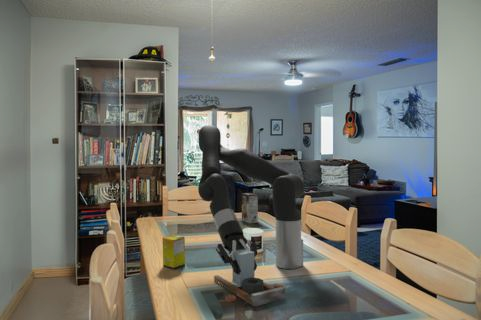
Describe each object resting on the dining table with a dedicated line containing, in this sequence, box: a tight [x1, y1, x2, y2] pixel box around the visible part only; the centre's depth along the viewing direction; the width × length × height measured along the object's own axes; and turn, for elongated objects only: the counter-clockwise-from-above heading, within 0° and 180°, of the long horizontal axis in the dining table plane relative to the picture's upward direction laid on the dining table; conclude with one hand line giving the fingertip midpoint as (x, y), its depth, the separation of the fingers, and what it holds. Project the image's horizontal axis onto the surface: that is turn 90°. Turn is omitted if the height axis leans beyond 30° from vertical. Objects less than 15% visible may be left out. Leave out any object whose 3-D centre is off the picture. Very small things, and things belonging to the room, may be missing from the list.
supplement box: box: [162, 234, 186, 270], centre depth 145 cm, size 6×6×11 cm
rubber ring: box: [241, 277, 264, 295], centre depth 118 cm, size 6×6×4 cm
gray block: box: [232, 249, 255, 288], centre depth 123 cm, size 5×5×10 cm
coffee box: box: [241, 192, 259, 224], centre depth 226 cm, size 9×6×16 cm
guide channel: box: [213, 275, 286, 307], centre depth 122 cm, size 20×24×3 cm
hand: (246, 271), depth 121 cm, fingers closed on gray block, 5 cm apart
